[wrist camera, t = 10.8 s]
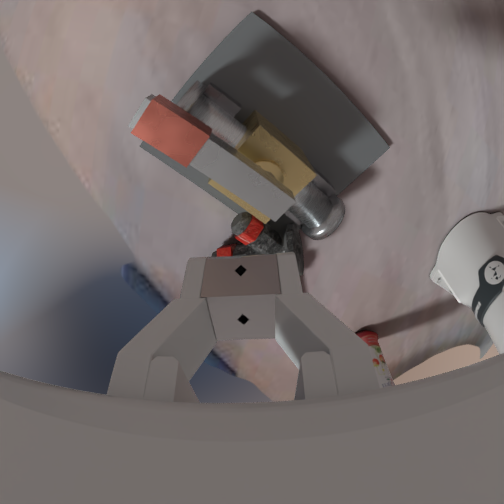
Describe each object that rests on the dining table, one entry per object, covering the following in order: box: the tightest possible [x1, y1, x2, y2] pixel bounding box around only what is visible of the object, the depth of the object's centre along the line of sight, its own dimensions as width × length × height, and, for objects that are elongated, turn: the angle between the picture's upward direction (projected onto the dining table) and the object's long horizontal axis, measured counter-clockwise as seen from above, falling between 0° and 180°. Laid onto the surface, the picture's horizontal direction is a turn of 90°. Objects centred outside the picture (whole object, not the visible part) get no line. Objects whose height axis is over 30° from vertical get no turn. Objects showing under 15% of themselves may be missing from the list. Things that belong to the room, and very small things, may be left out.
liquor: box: [356, 330, 395, 388], centre depth 46 cm, size 7×7×28 cm
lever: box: [128, 94, 296, 222], centre depth 22 cm, size 14×3×3 cm, turn 51°
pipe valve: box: [176, 80, 345, 240], centre depth 29 cm, size 20×7×8 cm, turn 49°
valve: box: [211, 212, 304, 276], centre depth 43 cm, size 6×26×15 cm
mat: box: [140, 12, 390, 236], centre depth 31 cm, size 22×19×1 cm
